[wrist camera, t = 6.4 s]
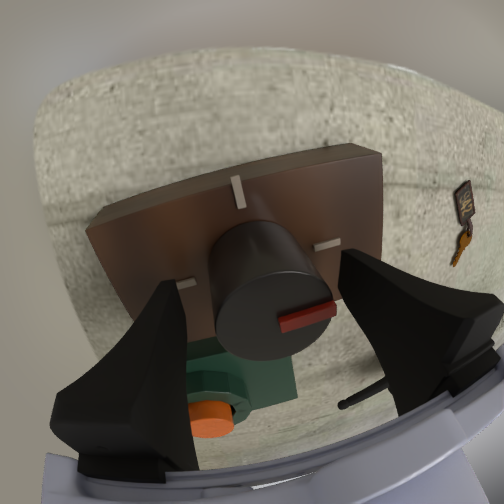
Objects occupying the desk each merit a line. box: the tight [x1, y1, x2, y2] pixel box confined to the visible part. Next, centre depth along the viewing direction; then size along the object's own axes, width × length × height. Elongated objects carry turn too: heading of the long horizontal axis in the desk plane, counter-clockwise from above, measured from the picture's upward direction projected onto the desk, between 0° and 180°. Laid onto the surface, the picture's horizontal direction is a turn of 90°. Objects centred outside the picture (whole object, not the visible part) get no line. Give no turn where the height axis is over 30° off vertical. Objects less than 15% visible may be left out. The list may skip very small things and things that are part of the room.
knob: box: [208, 221, 337, 361], centre depth 11 cm, size 4×4×4 cm
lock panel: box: [85, 143, 383, 343], centre depth 14 cm, size 14×9×3 cm, turn 102°
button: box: [188, 400, 234, 438], centre depth 17 cm, size 4×4×2 cm
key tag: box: [453, 180, 475, 267], centre depth 18 cm, size 8×3×1 cm, turn 22°
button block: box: [186, 336, 298, 425], centre depth 19 cm, size 10×9×4 cm
